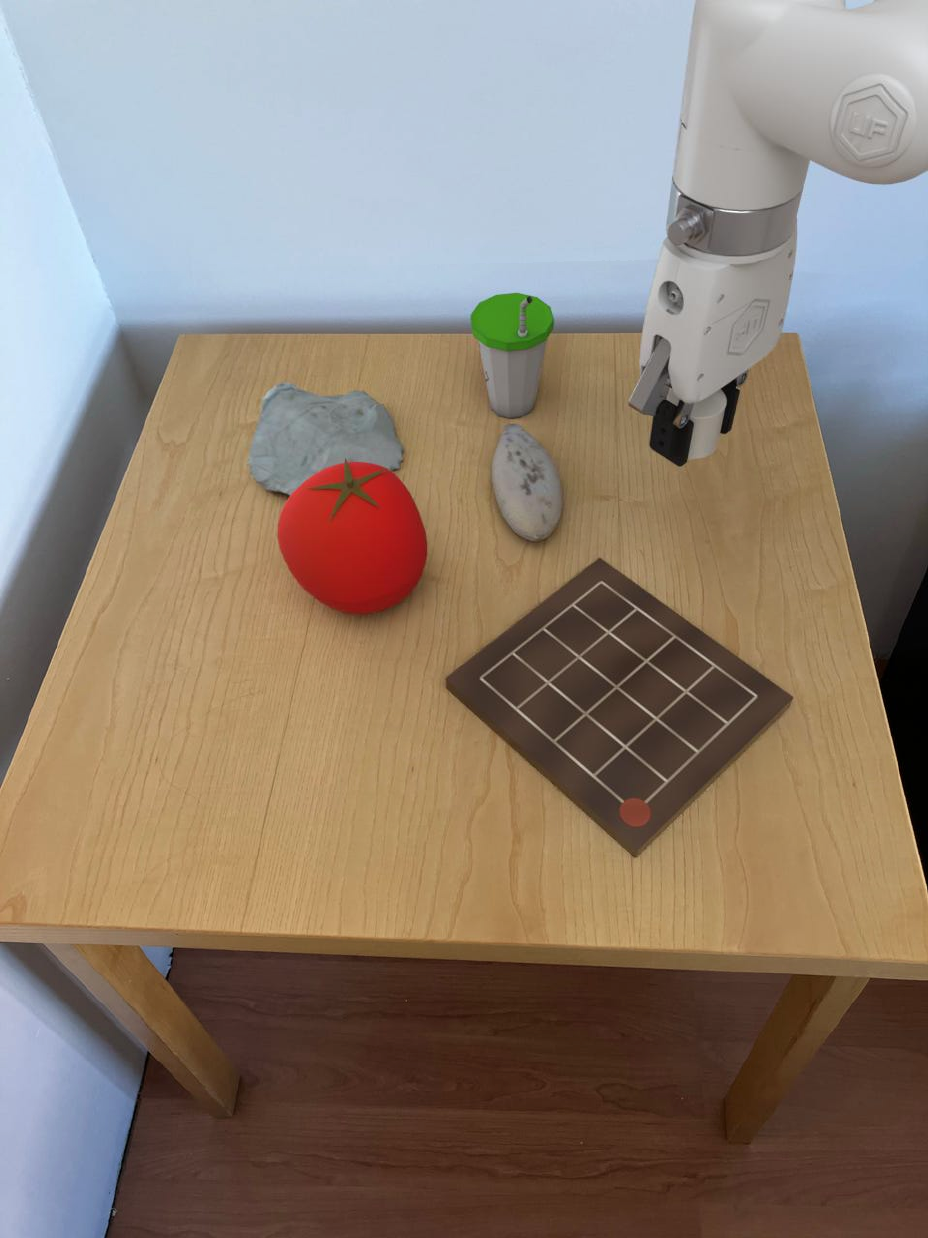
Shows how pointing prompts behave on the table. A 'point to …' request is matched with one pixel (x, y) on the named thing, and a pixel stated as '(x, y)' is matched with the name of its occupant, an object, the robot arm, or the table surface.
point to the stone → (318, 436)
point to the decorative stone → (526, 484)
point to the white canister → (705, 423)
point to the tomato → (353, 538)
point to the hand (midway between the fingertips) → (690, 437)
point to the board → (619, 702)
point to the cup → (512, 349)
